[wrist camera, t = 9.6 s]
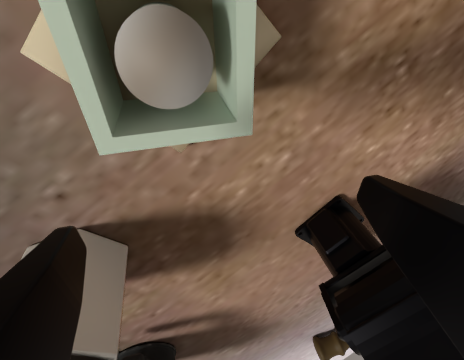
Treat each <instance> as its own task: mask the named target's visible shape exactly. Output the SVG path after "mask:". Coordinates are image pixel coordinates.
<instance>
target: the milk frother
mask: <svg viewBox="0 0 464 360" xmlns="http://www.w3.org/2000/svg"><path fill="white" fill-rule="evenodd" d="M175 355H176V349H175V348H174V347H173V346H172V345H169V344H165V343H151V344H144V345H140V346H135V347H132V348H129V349H127V350H125V351H123V352H121V353H120V354H119V355H118V360H175Z"/></svg>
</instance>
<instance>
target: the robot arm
mask: <svg viewBox="0 0 464 360" xmlns="http://www.w3.org/2000/svg"><path fill="white" fill-rule="evenodd" d="M357 201H358V203H359V205H360V207H361V208H362V210H363V212H364V214H365V215H366V217H367V219H368V220H369V222H370V224H371V226H372V227H373V229H374V231H375V233H376V234H377V236H378V238H379V239H380V241H381V242H382V244H383V245H381V244H380V243H379V242H378V241H377V239H376V238H375V237H374V236H373V235H372V234H371V233H370V232H369V231H368V230H367V228H366V227H365V226H364V225H363V224H362V222H363V221H364V218H363V217H362V216H361V215H360V214H359V213H358V212H357V211H356V210H355V209H354V208H353V207H352V206H350V205H349V204H348V203H347V202H346V201H345V200H344V199H343V198H342V197H340V196H337V197H335V198H334V199H333V200H332V201H330V202H329V203H328V204H327V205H326V206H324V207H323V208H322V209H321V210H320V211H318V212H317V213H316V214H315V215H313V216H312V217H311V218H310V219H309V220H307V221H306V222H305V223H304V224H303V225H301V226H300V227H299V228H298V229H296V231H295V234H296V236H297V237H299V238H301V239H302V240H304V241H306V242H307V243H309V244H311V245H312V246H314V247H315V249H316V250H317V252H318V253H319V255H320V256H321V258H322V260H323V261H324V263H325V264H326V266H327V267H328V269H329V271H330V272H331V274H332V275H333V278H331V279H330V280H328V281H327V282H325V283H322V284H320V285H319V288H320V290H321V292H322V293H321V295H322V297H323V300H324V302H325V304H326V307H327V309H328V311H329V314H330V316H331V318H332V321H333V323H334V326H335V329H336V333H337V335H338V337H339V339H340V340H342V341H345V342H346V343H347V344H348V345H349V347H350V348H351V349H352V350H353V351H354V352H355V353H356V354H358V355H362V357H363V358H364V360H464V206H463V205H460V204H457V203H455V202H452V201H449V200H446V199H444V198H441V197H438V196H435V195H432V194H430V193H427V192H424V191H421V190H418V189H416V188H413V187H410V186H407V185H404V184H402V183H399V182H396V181H393V180H391V179H388V178H385V177H382V176H379V175H372V176H366V177H365V178H364V179H363V180H362V183H361V186H360V188H359V191H358V194H357ZM86 256H87V249H86V245H85V243H84V241H83V239H82V238H81V236H80V234H79V232H78V230H77V229H76V228H75V227H74V226H67V227H61V228H57V229H55V230H54V231H53V232H52V233H51V234H49V235H48V236H47V237H46V238H45V239H44V240H43V241H42V242H40V243H39V244H38V245H37V246H36V247H35V248H34V249H33V250H32V251H30V252H29V253H28V254H27V255H26V256H25V257H24V258H23V259H21V260H20V261H19V262H18V263H17V264H16V265H15V266H14V267H13V268H11V269H10V270H9V271H8V272H7V273H6V274H5V275H4V276H2V277H1V278H0V360H70V359H71V354H72V349H73V345H74V340H75V335H76V331H77V326H78V321H79V317H80V312H81V306H82V298H83V288H84V278H85V267H86Z"/></svg>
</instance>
